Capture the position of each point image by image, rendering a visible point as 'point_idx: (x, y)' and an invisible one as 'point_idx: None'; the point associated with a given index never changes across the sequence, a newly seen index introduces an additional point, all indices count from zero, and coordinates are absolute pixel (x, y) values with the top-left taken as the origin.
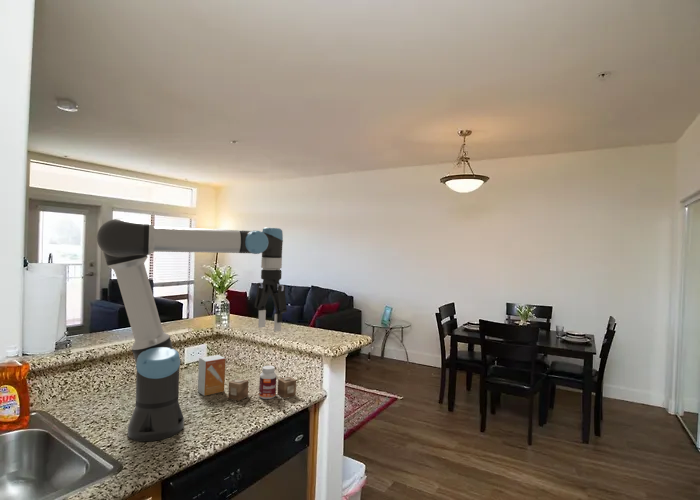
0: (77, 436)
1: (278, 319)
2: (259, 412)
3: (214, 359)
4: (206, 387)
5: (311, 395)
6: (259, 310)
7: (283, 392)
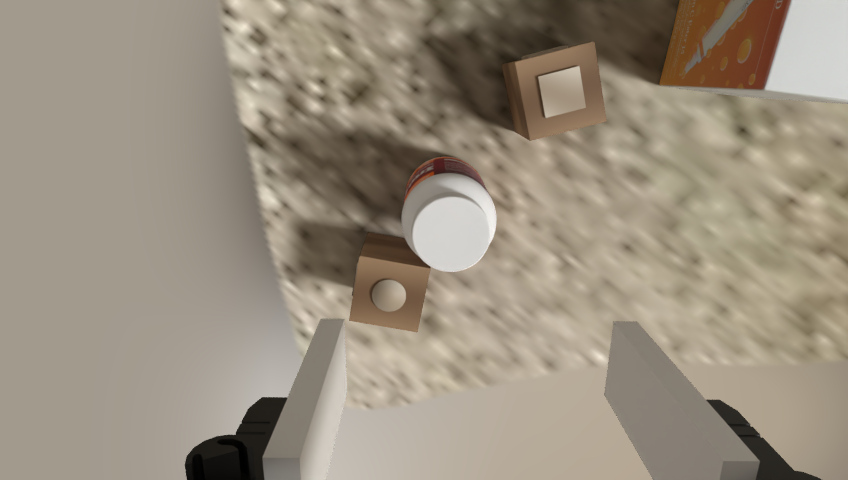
0: None
1: (260, 425)
2: (316, 46)
3: (803, 3)
4: None
5: None
6: (753, 469)
7: (375, 241)
